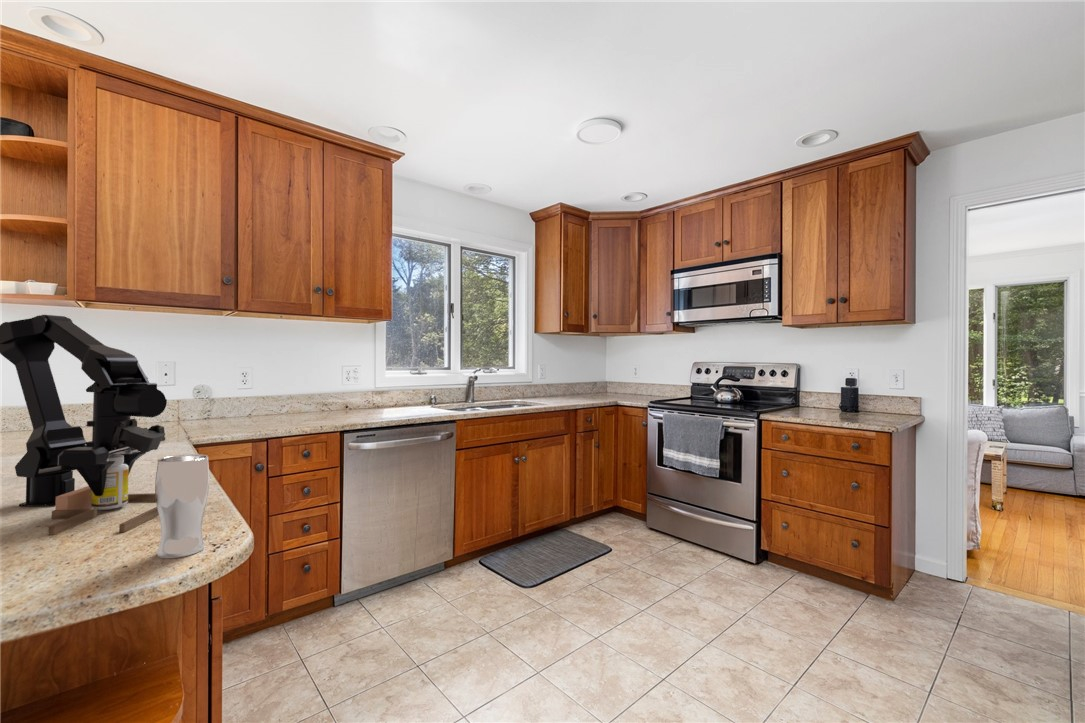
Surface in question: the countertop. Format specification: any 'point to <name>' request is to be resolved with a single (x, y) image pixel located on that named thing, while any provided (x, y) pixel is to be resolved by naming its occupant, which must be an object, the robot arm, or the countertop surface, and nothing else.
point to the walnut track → (83, 515)
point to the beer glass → (181, 503)
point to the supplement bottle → (113, 486)
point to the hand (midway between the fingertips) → (109, 491)
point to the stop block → (75, 500)
